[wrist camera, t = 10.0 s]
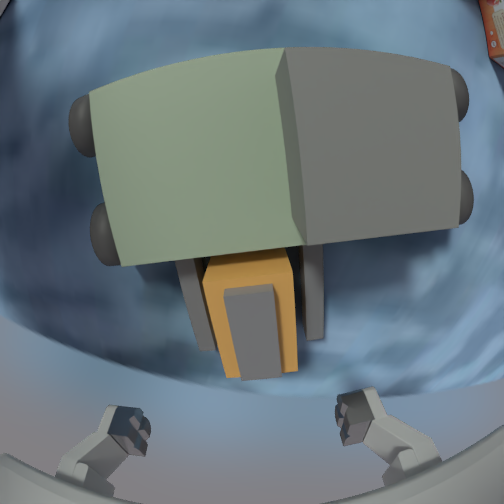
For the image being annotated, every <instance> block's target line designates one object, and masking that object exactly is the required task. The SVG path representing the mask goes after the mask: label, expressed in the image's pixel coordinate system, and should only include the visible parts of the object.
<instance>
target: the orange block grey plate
mask: <svg viewBox="0 0 504 504" xmlns="http://www.w3.org/2000/svg"><path fill="white" fill-rule="evenodd" d="M202 283H203V287H204V292H205V296H206V300H207V304H208V309H209V313H210V317H211V321H212V325H213V329H214V333H215V337H216V340H217V344H218V348H219V352H220V355H221V359H222V363H223V366H224V370H225V374H226V377H227V378H233V377H241V380H242V381H245V380H257V379H267V378H277V377H282V373H286V372H293V371H298V361H297V337H296V317H295V299H294V284H293V271H292V268H291V265H290V262H289V259H288V256H287V253H286V250H285V247H282V248H273V249H265V250H257V251H248V252H240V253H232V254H223V255H215V256H211V258H210V261H209V263H208V266H207V269H206V272H205V276H204V279H203V282H202Z"/></svg>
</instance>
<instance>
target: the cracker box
mask: <svg viewBox="0 0 504 504" xmlns="http://www.w3.org/2000/svg"><path fill="white" fill-rule="evenodd" d="M478 1H479V5H480V9H481V13H482V17H483V22H484V27H485V32H486V38H487V44H488V52H489V57H490V58H491V59H492V60H494V61H495V62H496V63H498V64H499V65H500V66H502V67H503V68H504V0H478Z"/></svg>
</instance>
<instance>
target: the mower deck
mask: <svg viewBox="0 0 504 504" xmlns="http://www.w3.org/2000/svg"><path fill="white" fill-rule="evenodd" d="M468 106H469V93H468V89H467V85H466V83H465V81H464V79H463V78H462V76H461V75H460V74H459V73H458V72H457V71H456V70H454V69H451V68H450V66H447V65H443V64H439V63H436V62H432V61H427V60H423V59H418V58H414V57H409V56H403V55H398V54H392V53H385V52H378V51H369V50H360V49H348V48H330V47H287V48H273V49H259V50H249V51H240V52H233V53H226V54H219V55H213V56H208V57H202V58H197V59H192V60H188V61H183V62H179V63H175V64H171V65H167V66H163V67H159V68H156V69H152V70H149V71H145V72H142V73H139V74H136V75H133V76H130V77H127V78H124V79H121V80H118V81H115V82H113V83H110V84H107V85H105V86H102V87H100V88H97V89H95V90H92V91H90V92H89V94H87V95H85V96H83V97H80V98H78V99H77V100H75V102H74V103H73V104H72V106H71V109H70V112H69V131H70V135H71V138H72V141H73V143H74V145H75V147H76V148H77V150H78V151H79V152H80V153H81V154H82V155H84V156H86V157H94V156H96V158H97V165H98V170H99V176H100V181H101V186H102V191H103V196H104V201H105V203H102V204H99V205H98V206H97V207H96V208H95V209H94V211H93V214H92V217H91V222H90V237H91V242H92V246H93V249H94V252H95V254H96V256H97V257H98V259H99V260H100V261H101V262H102V263H103V264H104V265H106V266H116V265H121V266H122V267H124V266H132V265H140V264H149V263H157V262H165V261H175V265H176V269H177V273H178V277H179V280H180V284H181V288H182V292H183V296H184V299H185V303H186V306H187V310H188V313H189V317H190V320H191V324H192V327H193V330H194V334H195V337H196V340H197V344H198V347H199V350H200V351H212V350H216V347H217V340H216V337H215V333H214V329H213V325H212V321H211V317H210V313H209V309H208V304H207V300H206V296H205V292H204V287H203V283H202V282H203V279H204V276H205V273H204V268H203V264H202V259H201V257H207V256H215V255H223V254H232V253H240V252H248V251H257V250H265V249H273V248H282V247H290V246H298V249H299V264H300V281H301V300H302V324H303V328H304V332H305V336H306V340H307V341H309V340H315V339H322V338H323V327H324V273H323V244H325V243H334V242H342V241H350V240H359V239H367V238H375V237H384V236H392V235H400V234H409V233H417V232H425V231H434V230H442V229H450V228H458V227H459V225H460V224H463V223H465V222H466V221H467V220H468V219H469V217H470V215H471V213H472V209H473V203H474V196H473V189H472V185H471V183H470V180H469V178H468V177H467V175H466V174H465V173H464V171H462V170H461V147H460V131H459V122H460V121H461V120H462V119H463V118H464V117H465V115H466V113H467V110H468Z"/></svg>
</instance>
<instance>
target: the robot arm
mask: <svg viewBox="0 0 504 504" xmlns="http://www.w3.org/2000/svg"><path fill="white" fill-rule="evenodd" d="M8 2H9V0H0V16H1V14H2V13H3V11H4V9H5V7H6V6H7V4H8ZM337 403H338V404H337V405H336V406H335V418H336V422H337V426H339V427H340V428H341V431H340V436H341V439H342V443H343V446H347V445H351V444H356V443H360V442H363V443H364V444H365V445H366V446H367V447H369V448H370V449H371V450H372V451H374V452H375V453H376V454H377V455H378V456H380V457H381V458H382V459H383V460H385V461H386V462H387V463H388V464H390V467H389V468H388V469H387V470H386V472H385V473H384V474H383V476H382V478H383V482H384V485H385V487H382V488H379V489H376V490H373V491H369V492H366V493H363V494H359V495H356V496H352V497H348V498H345V499H340V500H336V501H331V502H327V503H322V504H504V425H502V426H500V427H499V428H497V429H496V430H494V431H493V432H491V433H490V434H488V435H487V436H485V437H484V438H482V439H481V440H479V441H478V442H476V443H475V444H473V445H471V446H470V447H468V448H466V449H465V450H463V451H461V452H459V453H458V454H456V455H454V456H452V457H450V458H449V459H447V460H445V461H443V462H442V460H441V458H440V456H439V453H438V451H437V449H436V447H435V445H434V443H433V441H432V439H431V438H430V437H428V436H426V435H424V434H422V433H421V432H419V431H418V430H415V429H414V428H412V427H410V426H409V425H407V424H405V423H404V422H402V421H400V420H399V419H397V418H395V417H394V416H392V415H387V413H386V411H385V409H384V406H383V404H382V402H381V400H380V398H379V395H378V393H377V391H376V389H375V388H374V387H368V388H365V389H359V390H356V391H352V392H347V393H343V394H339V395H338V396H337ZM150 433H151V426H150V422H149V420H148V419H147V418H146V417H144V416H143V411H142V410H141V409H140V408H133V407H123V406H116V405H108V406H107V408H106V410H105V413H104V415H103V418H102V420H101V423H100V426H99V428H98V431H97V432H93V433H92V434H91V435H90V436H88V437H87V438H86V439H84V440H83V441H82V442H81V443H79V444H78V445H77V446H76V447H74V448H73V449H71V450H70V451H69V452H67V453H66V454H65V455H63V457H62V459H61V462H60V464H59V467H58V470H57V472H56V475H55V477H54V476H52V475H49V474H47V473H45V472H43V471H41V470H38V469H36V468H34V467H32V466H30V465H28V464H26V463H24V462H23V461H21V460H19V459H17V458H15V457H14V456H12V455H10V454H7V453H3V454H1V455H0V504H141V503H136V502H131V501H127V500H123V499H119V498H115V497H113V494H114V489H115V487H114V486H113V485H112V484H111V483H109V482H108V481H107V480H106V479H107V478H108V477H109V476H110V475H111V474H112V473H113V472H114V471H115V470H116V469H117V468H118V467H119V465H120V464H121V463H122V462H123V461H124V460H125V459H126V458H127V457H128V455H136V456H144V457H145V455H146V451H147V446H148V444H147V442H146V440H147V439H148V438H149V437H150Z"/></svg>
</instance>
